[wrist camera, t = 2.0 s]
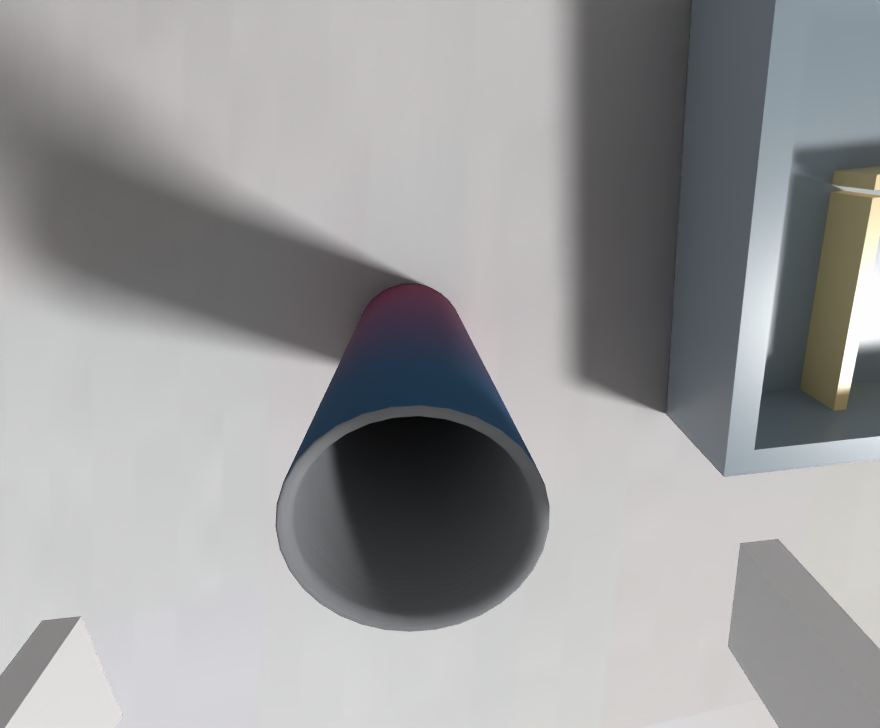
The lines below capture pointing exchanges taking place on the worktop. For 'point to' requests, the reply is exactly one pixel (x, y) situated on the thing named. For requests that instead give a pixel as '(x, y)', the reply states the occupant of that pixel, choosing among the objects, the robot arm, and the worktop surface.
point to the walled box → (779, 236)
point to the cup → (411, 477)
